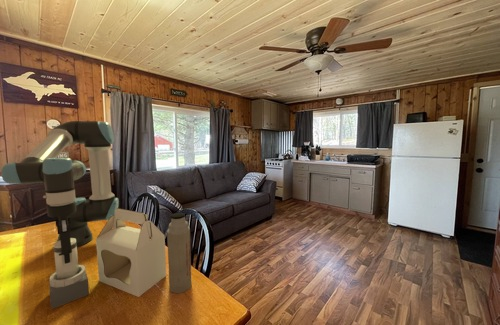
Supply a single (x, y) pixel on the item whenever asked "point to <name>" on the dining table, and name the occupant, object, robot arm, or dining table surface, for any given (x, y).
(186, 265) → the thermos bottle
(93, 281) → the dining table surface
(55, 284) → the grey socket block
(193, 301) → the dining table surface
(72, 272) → the beige rounded cylinder
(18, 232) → the dining table surface
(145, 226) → the gable box
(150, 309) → the dining table surface
